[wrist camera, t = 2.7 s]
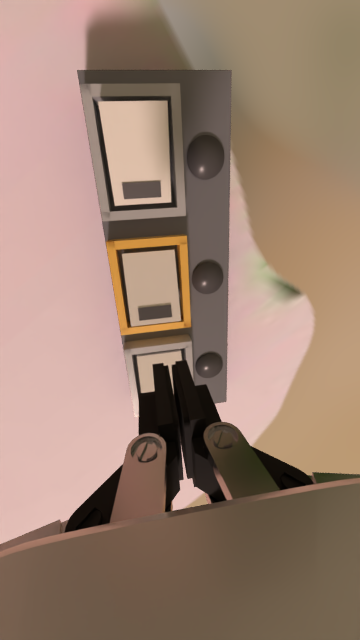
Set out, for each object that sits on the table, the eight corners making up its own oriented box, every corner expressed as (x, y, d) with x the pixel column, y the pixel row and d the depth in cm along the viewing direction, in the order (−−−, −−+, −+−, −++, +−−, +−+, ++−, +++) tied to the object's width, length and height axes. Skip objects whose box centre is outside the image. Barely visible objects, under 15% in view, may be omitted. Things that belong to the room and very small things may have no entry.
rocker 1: (99, 102, 16) (97, 101, 15) (165, 101, 16) (167, 100, 15) (115, 202, 19) (114, 206, 18) (169, 199, 19) (171, 202, 19)
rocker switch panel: (85, 90, 19) (71, 57, 15) (218, 89, 20) (239, 58, 16) (134, 397, 30) (134, 426, 26) (218, 385, 31) (230, 411, 27)
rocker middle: (122, 255, 20) (121, 253, 19) (172, 251, 21) (174, 249, 20) (131, 324, 21) (131, 326, 20) (179, 319, 22) (181, 320, 21)
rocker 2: (137, 353, 24) (136, 357, 23) (179, 348, 24) (181, 351, 23) (144, 409, 25) (144, 415, 24) (184, 403, 25) (186, 408, 24)
